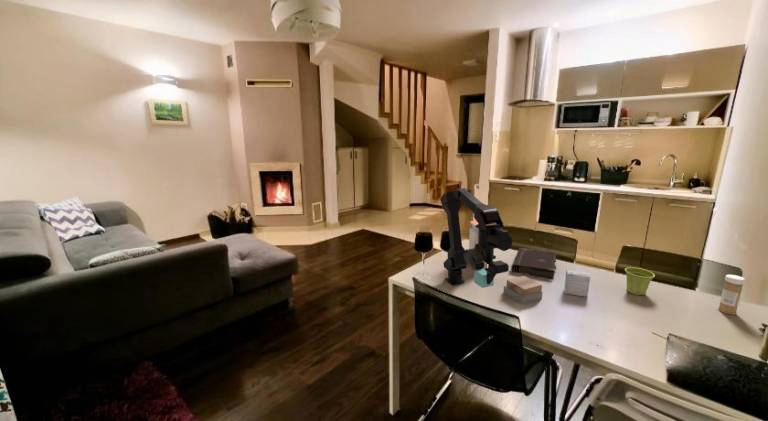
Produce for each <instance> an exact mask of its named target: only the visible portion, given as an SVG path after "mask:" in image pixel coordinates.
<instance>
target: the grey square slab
mask: <svg viewBox="0 0 768 421" xmlns="http://www.w3.org/2000/svg"><path fill="white" fill-rule="evenodd" d="M506 286H507V284H506V285H503V294H504V295H507V296H508V297H510V298H511V299H513V300H515V301H516V302H518V303H520V304H521V305H524V304H528V303H533V302H536V301H540V300H542V299H543V290H542V291H541V292H539V293H536V294H532V295H528V296H525V297H524V296H522V295H520V294H518V293H517V292H515V291H513V290H511V289H509V288H508V287H506Z"/></svg>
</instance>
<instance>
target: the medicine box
mask: <svg viewBox="0 0 768 421" xmlns="http://www.w3.org/2000/svg"><path fill="white" fill-rule="evenodd" d="M564 279H565V280H564V286H563V287H564V288H563V289H564V294H567V295H573V296H579V297H586V298H588V296H589V288H590V281H591V277H590V274H589V273H588V272H582V271H576V270H568V269H567V270H565V278H564Z"/></svg>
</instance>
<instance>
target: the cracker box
mask: <svg viewBox="0 0 768 421" xmlns="http://www.w3.org/2000/svg"><path fill="white" fill-rule="evenodd" d="M477 224H478V222H477V221H476V220H470V221H469V238H468V241H469V242H468V249H473V248H475V244H477V243H478V232H479V229H478V228H476V227H475V226H476V225H477ZM472 267H473V269H475V267H474V266H472ZM484 268H488V264H486V263H485V264H484Z"/></svg>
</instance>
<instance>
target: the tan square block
mask: <svg viewBox="0 0 768 421" xmlns="http://www.w3.org/2000/svg"><path fill="white" fill-rule="evenodd" d="M506 285H507V286H506ZM506 285H505V286H506V287H508V288H509V289H511V290H513V291H515V292H517V293H518V294H520V295H522V296H524V297H525V296H528V295H532V294H536V293H539V292H541V291H542V292H543V284H541V283H540V282H537V281H535V280H533V279H531V278H529V277H527V276H525V275H521V276H516V277H513V278H510V279H507V280H506Z"/></svg>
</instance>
